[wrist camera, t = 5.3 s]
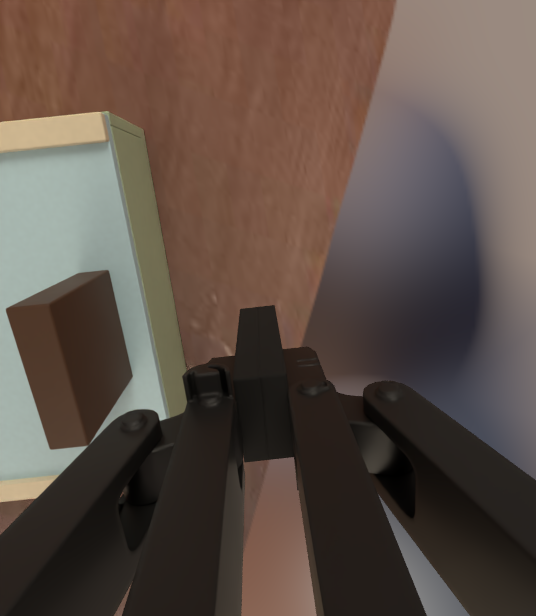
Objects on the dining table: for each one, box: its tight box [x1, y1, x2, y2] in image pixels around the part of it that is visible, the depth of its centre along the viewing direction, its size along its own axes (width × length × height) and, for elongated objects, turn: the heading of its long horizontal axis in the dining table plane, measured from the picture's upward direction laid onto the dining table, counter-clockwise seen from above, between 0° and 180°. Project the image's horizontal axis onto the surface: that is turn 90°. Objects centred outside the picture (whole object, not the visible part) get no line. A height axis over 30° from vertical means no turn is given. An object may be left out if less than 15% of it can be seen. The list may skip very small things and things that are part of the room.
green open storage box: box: [101, 111, 187, 418], centre depth 24 cm, size 16×20×6 cm
